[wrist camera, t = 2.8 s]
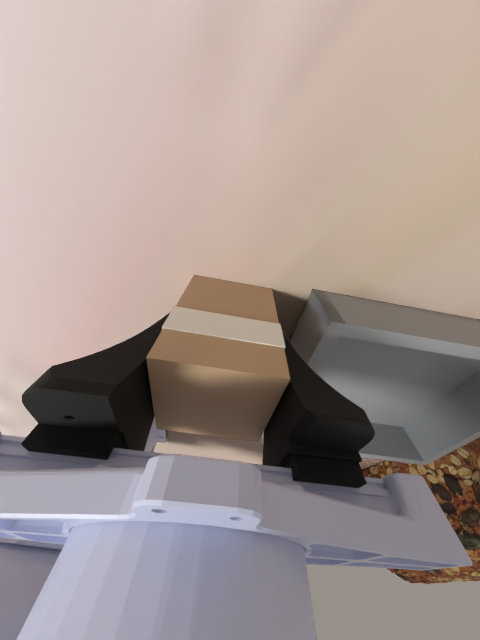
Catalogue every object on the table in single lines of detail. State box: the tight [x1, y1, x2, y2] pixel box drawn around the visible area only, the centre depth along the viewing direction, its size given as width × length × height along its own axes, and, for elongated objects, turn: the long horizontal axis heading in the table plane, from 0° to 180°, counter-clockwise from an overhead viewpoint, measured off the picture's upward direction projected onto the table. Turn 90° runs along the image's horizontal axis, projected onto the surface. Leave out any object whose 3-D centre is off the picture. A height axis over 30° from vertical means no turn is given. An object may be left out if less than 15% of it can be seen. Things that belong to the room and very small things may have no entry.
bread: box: [362, 439, 480, 584], centre depth 23 cm, size 19×11×10 cm, turn 152°
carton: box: [146, 275, 290, 442], centre depth 11 cm, size 5×5×7 cm
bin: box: [262, 289, 480, 465], centre depth 16 cm, size 14×16×4 cm
